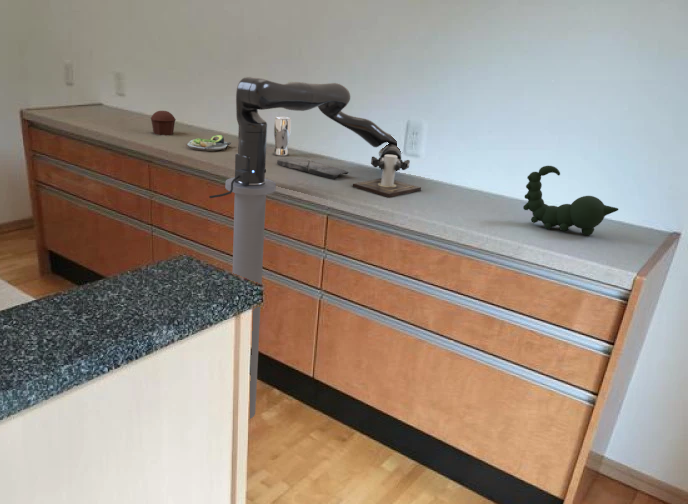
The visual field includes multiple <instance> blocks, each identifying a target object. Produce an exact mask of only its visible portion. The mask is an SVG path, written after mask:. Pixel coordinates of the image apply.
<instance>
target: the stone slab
mask: <svg viewBox="0 0 688 504" xmlns="http://www.w3.org/2000/svg"><path fill="white" fill-rule="evenodd" d="M276 161H277V165H279V166H282V167H284V168H285V167H286V168H288V169H295V170H298V171H300V172H306V173H308V174H312V175H315V176H318V177H323V178H326V179H330V180H334V181H335V180H336V179H337V178H338V177H339V176H340V175H348V174H349V171H348V170H345V169H342V168H339V167H336V166H334V165H329V164H325V163H321V162H316V161H314V160H309V159H304V158H299V157H285V158H280V159H277V160H276Z"/></svg>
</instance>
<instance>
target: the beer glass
mask: <svg viewBox="0 0 688 504" xmlns="http://www.w3.org/2000/svg"><path fill="white" fill-rule="evenodd" d="M291 133H292V117H290V116H274V125H273V135H274V150H273V155H274V156H278V157H286V156H289V142H290V136H291Z"/></svg>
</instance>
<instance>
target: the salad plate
mask: <svg viewBox="0 0 688 504" xmlns="http://www.w3.org/2000/svg"><path fill="white" fill-rule="evenodd" d="M229 145H232V142H230V141H229V142H228V141H225V138H224V136H223V135H222V134H215V135H213V136H211V137H210V138H209V139H205V138H201V137H199V138H195V139H191V140H190V141H188V143H187V147H189V148H190V149H191V150H194V151H201V152H218V151H223V150H225V149H226V148H227V147H229Z"/></svg>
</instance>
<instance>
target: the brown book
mask: <svg viewBox="0 0 688 504" xmlns="http://www.w3.org/2000/svg"><path fill="white" fill-rule="evenodd" d="M381 179H382V177H381V178H376V179H370V180H363V181H359V182H353V183H352V187H353V188H356V189H359V190H362V191H366V192H369V193H372V194H376V195H379V196H382V197H386V198H392V197H396V196H397V197H398V196H402V195H406V194H411V193H416V192H421V191H422V187H421V186H418V185H414V184H411V183H407V182H404V181H400V180H396V179H394V185H393V186H384V185H381Z"/></svg>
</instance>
